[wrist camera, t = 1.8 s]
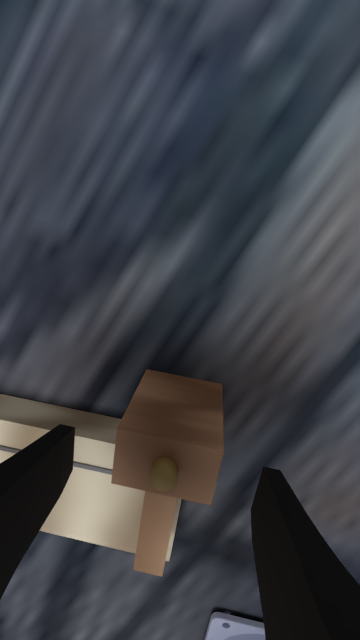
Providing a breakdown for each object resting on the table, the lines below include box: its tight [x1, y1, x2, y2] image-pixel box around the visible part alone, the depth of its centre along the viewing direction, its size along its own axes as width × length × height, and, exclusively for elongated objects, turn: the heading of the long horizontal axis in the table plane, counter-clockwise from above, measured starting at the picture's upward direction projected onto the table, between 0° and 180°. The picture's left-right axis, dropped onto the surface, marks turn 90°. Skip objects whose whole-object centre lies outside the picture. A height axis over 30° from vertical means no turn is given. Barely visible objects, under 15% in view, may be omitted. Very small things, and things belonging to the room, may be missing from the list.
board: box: [0, 394, 182, 561], centre depth 18 cm, size 15×7×2 cm, turn 81°
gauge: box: [111, 369, 224, 577], centre depth 15 cm, size 4×8×6 cm, turn 171°
